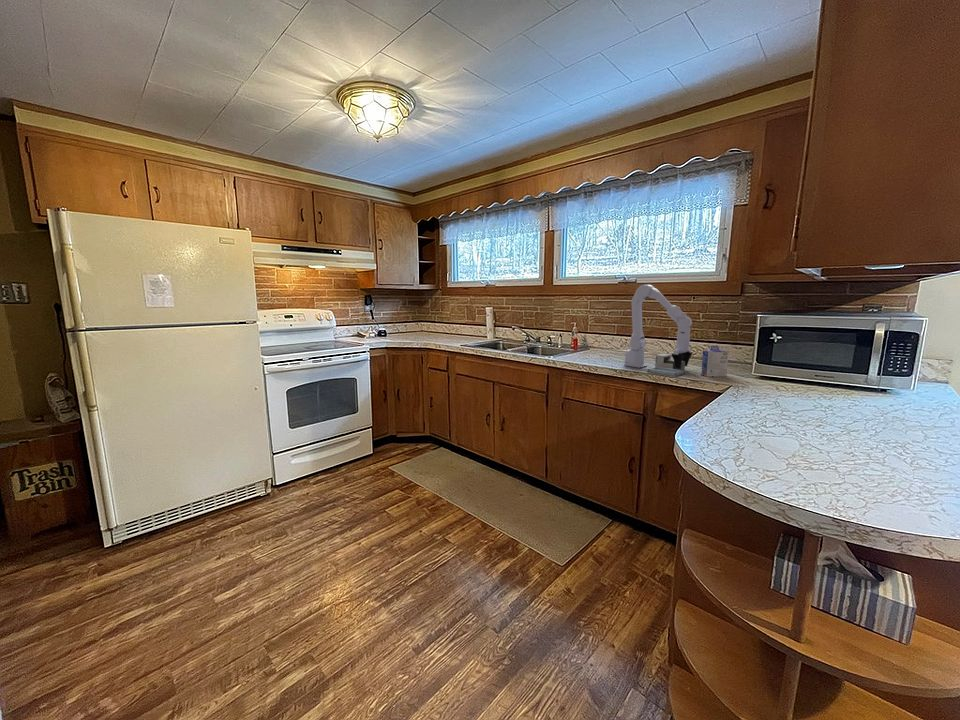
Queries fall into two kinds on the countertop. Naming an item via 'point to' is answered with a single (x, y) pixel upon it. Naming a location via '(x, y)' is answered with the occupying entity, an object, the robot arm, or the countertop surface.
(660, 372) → the tray
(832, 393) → the countertop surface
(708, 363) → the ink cartridge box
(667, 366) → the bay
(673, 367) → the gray white block
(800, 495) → the countertop surface
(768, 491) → the countertop surface
